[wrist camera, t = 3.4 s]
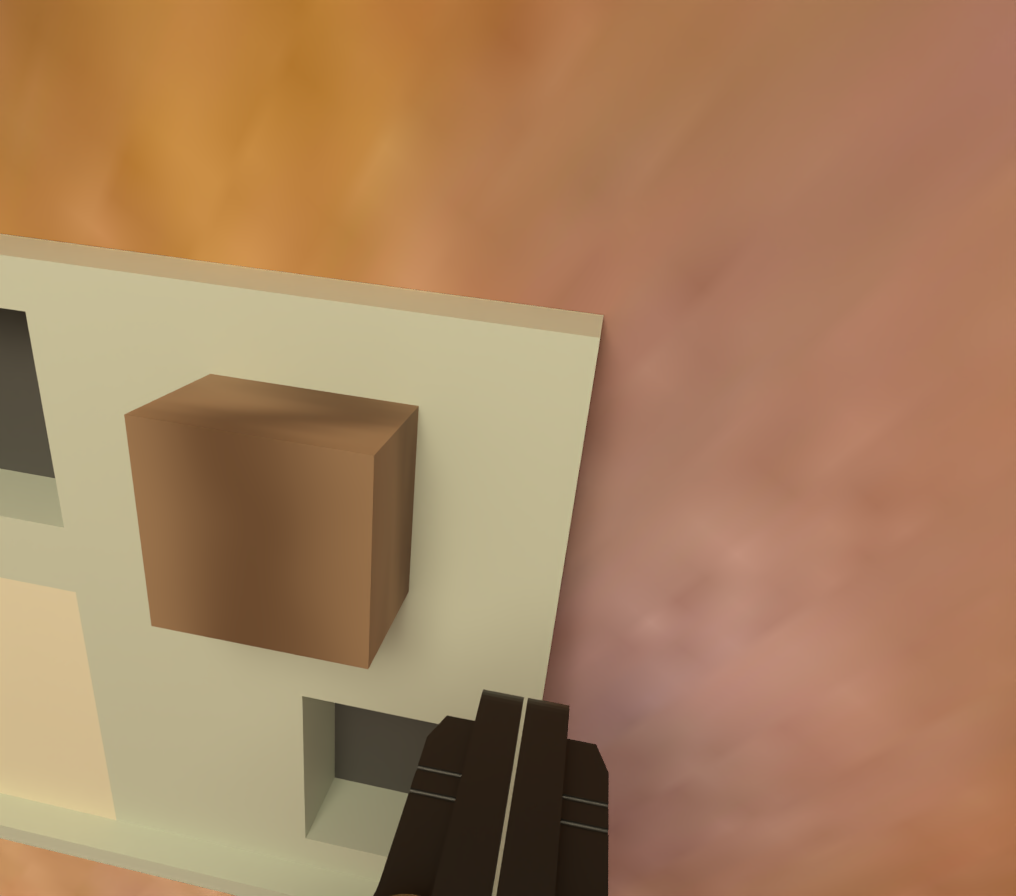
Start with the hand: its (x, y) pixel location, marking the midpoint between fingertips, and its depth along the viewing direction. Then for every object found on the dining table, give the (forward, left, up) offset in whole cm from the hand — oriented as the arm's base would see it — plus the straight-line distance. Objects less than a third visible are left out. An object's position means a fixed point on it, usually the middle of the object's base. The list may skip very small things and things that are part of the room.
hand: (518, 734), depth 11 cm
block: (+7, 0, -8) cm, 11 cm away
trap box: (+12, +6, -11) cm, 17 cm away
